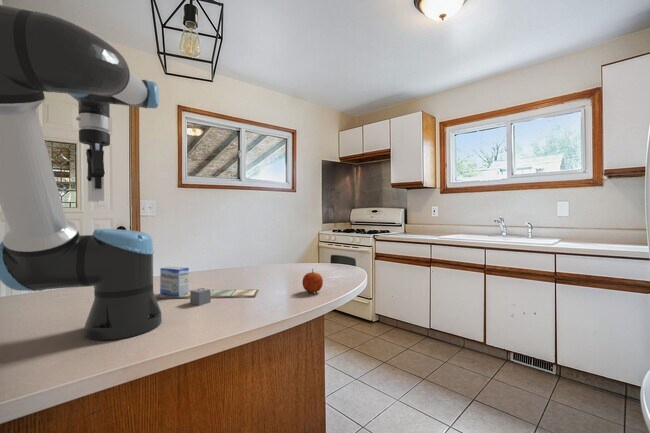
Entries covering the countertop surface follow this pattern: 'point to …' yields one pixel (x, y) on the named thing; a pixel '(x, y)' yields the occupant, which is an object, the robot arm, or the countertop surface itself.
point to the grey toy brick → (200, 296)
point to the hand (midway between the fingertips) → (95, 201)
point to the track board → (217, 294)
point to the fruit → (312, 282)
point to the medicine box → (174, 281)
